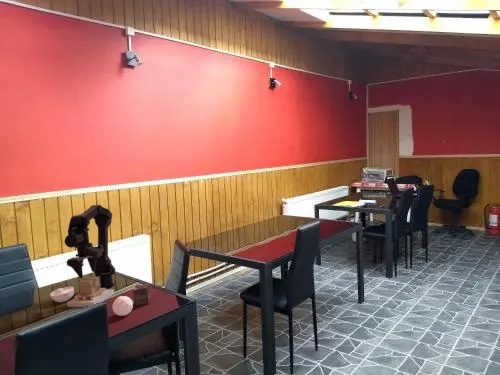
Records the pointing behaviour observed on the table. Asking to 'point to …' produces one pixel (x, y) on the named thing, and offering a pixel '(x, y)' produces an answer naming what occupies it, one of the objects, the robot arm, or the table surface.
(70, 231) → the robot arm
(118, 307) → the pale pink ovoid
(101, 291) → the pallet
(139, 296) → the box
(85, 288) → the crate
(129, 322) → the table surface
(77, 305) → the dock
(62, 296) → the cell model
